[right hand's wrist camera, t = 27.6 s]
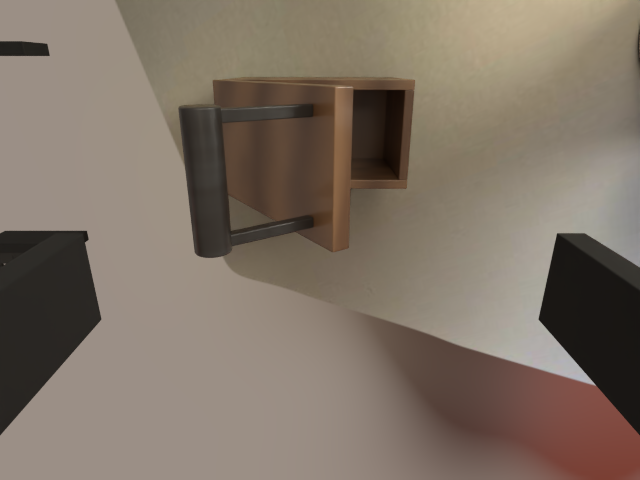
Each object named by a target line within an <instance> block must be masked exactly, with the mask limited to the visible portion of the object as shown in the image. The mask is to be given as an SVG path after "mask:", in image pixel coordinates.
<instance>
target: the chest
mask: <svg viewBox="0 0 640 480" xmlns="http://www.w3.org/2000/svg"><path fill="white" fill-rule="evenodd" d="M223 80H242V81H262V82H282V83H302V84H322V85H342V86H353V116H352V151H351V186H350V188H400V189H406V188H407V176H408V163H409V150H410V137H411V124H412V111H413V99H414V87H415V80H410V79H401V78H344V77H242V78H232V79H223Z"/></svg>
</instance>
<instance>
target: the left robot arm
mask: <svg viewBox="0 0 640 480" xmlns="http://www.w3.org/2000/svg"><path fill="white" fill-rule="evenodd" d="M0 56H49V50H48V46H47V44H43V43H33V42H22V41H21V42H20V41H19V42H18V41H17V42H16V41H15V42H14V41H13V42H12V41H11V42H10V41H9V42H8V41H6V42H4V41H3V42H2V41H1V42H0ZM55 233H83V237H84V241H85V242H86V241H87V240H88V234H87V231H4V232H2V233H0V267H2V266H4V264H7V263H8V262H10V261H12V260H13V259H15V258H16V257H18V256H20V255H21V254H23V253H25V252H26V251H28V250H29V249H31V248H33V247H34V246H36V245H37V244H39V243H41V242H42V241H44V240H45V239H47V238H49V237H50V236H52V235H54V234H55Z"/></svg>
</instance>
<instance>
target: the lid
mask: <svg viewBox="0 0 640 480" xmlns="http://www.w3.org/2000/svg"><path fill="white" fill-rule="evenodd" d="M213 89H214V101H215V105H184V106H180V107H179V117H180V126H181V135H182V144H183V152H184V161H185V170H186V179H187V187H188V196H189V205H190V214H191V223H192V232H193V240H194V249H195V253H196V254H197V255H198V256H200V257H205V258H214V257H221V256H224V255H227V254H228V253H230V252H231V251H232V246H235V245H239V244H244V243H248V242H252V241H257V240H261V239H265V238H270V237H274V236H279V235H283V234H287V233H292V232H297V233H299V234H300V235H302V236H304V237H306V238H308V239H309V240H311V241H313V242H315V243H317V244H318V245H320V246H322V247H324V248H326V249H327V250H329V251H331V252H336V251H339V250H343V249H347V248H349V221H350V186H351V151H352V116H353V86H342V85H322V84H302V83H282V82H262V81H242V80H213ZM228 195H230V196H232V197H233V198H235V199H237V200H239V201H241V202H242V203H244V204H246V205H248V206H250V207H252V208H253V209H255V210H257V211H259V212H261V213H262V214H264V215H266V216H268V217H270V218H271V219H273V220H275V221H276V222H271V223H267V224H262V225H257V226H252V227H248V228H243V229H238V230H233V231H231V226H230V214H229V201H228Z"/></svg>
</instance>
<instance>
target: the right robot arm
mask: <svg viewBox="0 0 640 480" xmlns="http://www.w3.org/2000/svg"><path fill="white" fill-rule="evenodd" d="M639 56H640V36H639ZM100 320H101V315H100V311H99V306H98V301H97V297H96V292H95V288H94V283H93V278H92V274H91V269H90V264H89V260H88V255H87V251H86V246H85V241H84V237H83V233H55V234H54V235H52V236H50V237H49V238H47V239H45V240H44V241H42V242H41V243H39V244H37V245H36V246H34V247H33V248H31V249H29V250H28V251H26V252H25V253H23V254H21V255H20V256H18V257H16V258H15V259H13V260H12V261H10V262H8V263H7V264H5V265H4V266H2V267H0V435H1V434H2V433H3V431H4V430H5V429H6V428H7V427H8V426H9V425H10V423H11V422H12V421H13V420H14V419H15V418H16V417H17V415H18V414H19V413H20V412H21V411H22V410H23V409H24V407H25V406H26V405H27V404H28V403H29V402H30V401H31V399H32V398H33V397H34V396H35V395H36V394H37V393H38V391H39V390H40V389H41V388H42V387H43V386H44V385H45V383H46V382H47V381H48V380H49V379H50V378H51V377H52V375H53V374H54V373H55V372H56V371H57V370H58V368H59V367H60V366H61V365H62V364H63V363H64V362H65V360H66V359H67V358H68V357H69V356H70V355H71V354H72V352H73V351H74V350H75V349H76V348H77V347H78V346H79V344H80V343H81V342H82V341H83V340H84V339H85V338H86V336H87V335H88V334H89V333H90V332H91V331H92V330H93V328H94V327H95V326H96V325H97V324H98V323H99V322H100ZM539 320H540V322H541V323H542V324H543V325H544V326H545V327H546V328H547V330H548V331H549V332H550V333H551V334H552V335H553V336H554V338H555V339H556V340H557V341H558V342H559V343H560V344H561V346H562V347H563V348H564V349H565V350H566V351H567V352H568V354H569V355H570V356H571V357H572V358H573V359H574V360H575V362H576V363H577V364H578V365H579V366H580V367H581V368H582V370H583V371H584V372H585V373H586V374H587V375H588V377H589V378H590V379H591V380H592V381H593V382H594V383H595V385H596V386H597V387H598V388H599V389H600V390H601V391H602V392H603V394H604V395H605V396H606V397H607V398H608V399H609V401H610V402H611V403H612V404H613V405H614V406H615V407H616V409H617V410H618V411H619V412H620V413H621V414H622V415H623V416H624V418H625V419H626V420H627V421H628V422H629V423H630V425H631V426H632V427H633V428H634V429H635V430H636V431H637V432H638V434H639V435H640V267H638V266H636V265H635V264H633V263H632V262H630V261H628V260H627V259H625V258H624V257H622V256H620V255H619V254H617V253H615V252H614V251H612V250H611V249H609V248H607V247H606V246H604V245H603V244H601V243H599V242H598V241H596V240H595V239H593V238H591V237H590V236H588V235H586V234H585V233H557V237H556V241H555V246H554V250H553V255H552V260H551V264H550V269H549V274H548V278H547V283H546V288H545V292H544V297H543V301H542V306H541V311H540V315H539Z"/></svg>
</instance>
